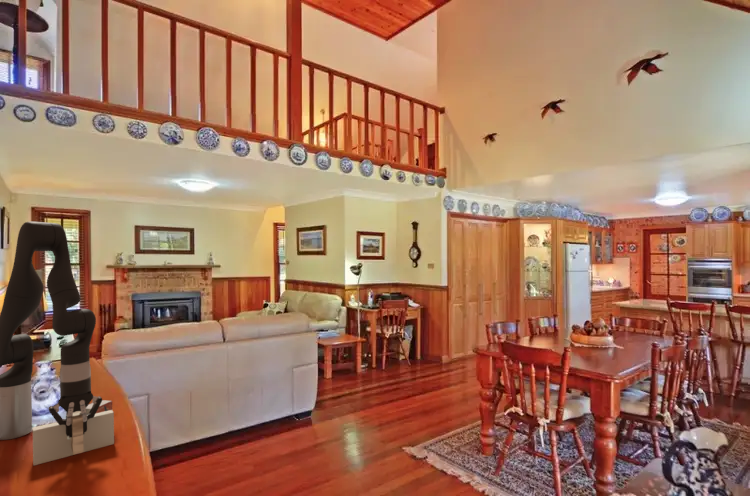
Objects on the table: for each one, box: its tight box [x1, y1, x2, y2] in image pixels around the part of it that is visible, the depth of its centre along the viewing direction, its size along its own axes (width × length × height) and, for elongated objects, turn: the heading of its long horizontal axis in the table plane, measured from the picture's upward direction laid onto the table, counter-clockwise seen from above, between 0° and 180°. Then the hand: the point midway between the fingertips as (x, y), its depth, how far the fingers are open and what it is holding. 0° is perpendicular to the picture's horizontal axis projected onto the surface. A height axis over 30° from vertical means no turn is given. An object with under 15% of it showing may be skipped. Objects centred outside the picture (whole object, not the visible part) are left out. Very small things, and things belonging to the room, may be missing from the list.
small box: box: [86, 399, 113, 414], centre depth 141 cm, size 8×6×10 cm
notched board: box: [32, 409, 115, 466], centre depth 130 cm, size 20×3×10 cm, turn 131°
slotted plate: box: [71, 411, 84, 456], centre depth 130 cm, size 16×2×10 cm, turn 41°
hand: (76, 434), depth 126 cm, fingers closed on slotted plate, 2 cm apart
